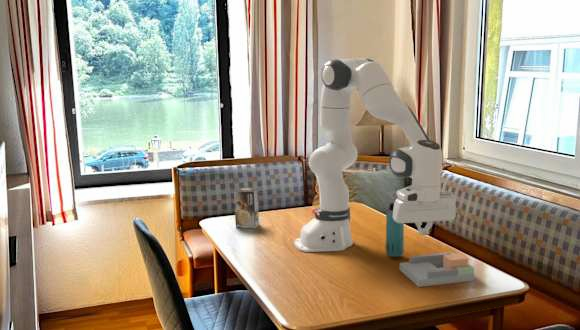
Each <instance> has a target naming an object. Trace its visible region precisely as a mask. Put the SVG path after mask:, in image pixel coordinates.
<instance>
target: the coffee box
mask: <svg viewBox="0 0 580 330" xmlns="http://www.w3.org/2000/svg"><path fill="white" fill-rule="evenodd" d="M233 198H234V199H233V201H234V202H233V203H234V219H235V228H236V227H242V228H241V229H257V228H258V227H259V226H260V217H259V216H260V215H259V213H260V212H259V194H258V188H250V187H249V188H246V187H245V188H244V187H237V188H235V190H234V191H233Z"/></svg>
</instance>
